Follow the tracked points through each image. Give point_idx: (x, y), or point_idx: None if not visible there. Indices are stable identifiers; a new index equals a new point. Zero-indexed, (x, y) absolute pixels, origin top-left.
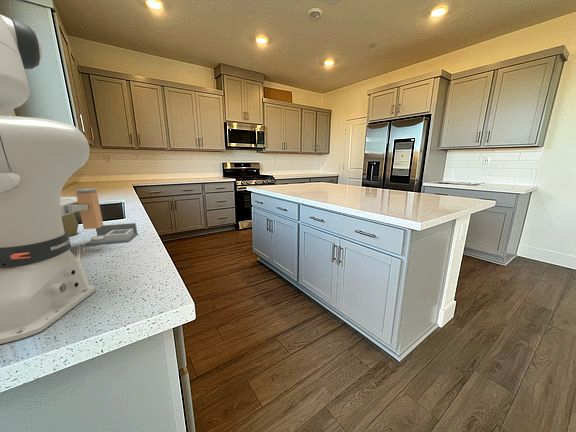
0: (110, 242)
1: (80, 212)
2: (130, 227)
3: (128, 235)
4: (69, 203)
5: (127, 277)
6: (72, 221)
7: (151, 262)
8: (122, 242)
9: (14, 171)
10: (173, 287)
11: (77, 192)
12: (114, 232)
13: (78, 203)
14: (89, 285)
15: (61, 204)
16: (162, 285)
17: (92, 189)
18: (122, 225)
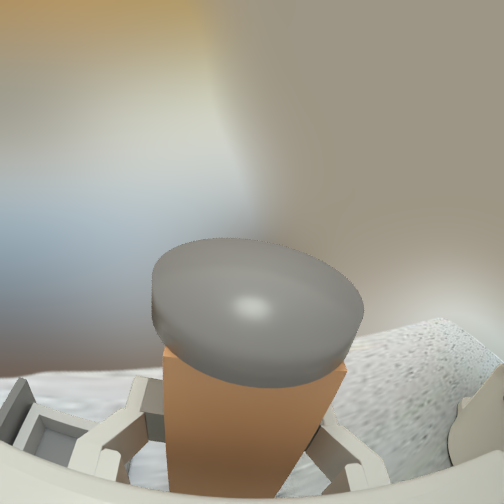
0: None
1: (282, 483)
2: (23, 407)
3: None
4: (354, 491)
5: (414, 381)
6: None
7: (349, 364)
8: (130, 461)
9: None
10: (423, 327)
11: (348, 348)
12: None
13: (304, 445)
14: (464, 404)
15: (451, 474)
16: (423, 337)
17: (290, 250)
18: (5, 423)
